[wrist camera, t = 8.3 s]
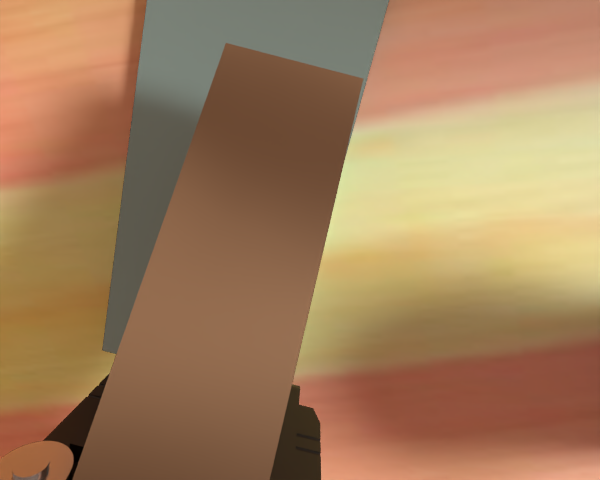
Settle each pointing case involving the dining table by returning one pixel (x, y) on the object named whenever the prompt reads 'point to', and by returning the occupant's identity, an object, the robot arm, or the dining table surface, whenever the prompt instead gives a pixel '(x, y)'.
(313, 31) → the mat
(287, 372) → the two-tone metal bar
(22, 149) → the dining table surface
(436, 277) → the dining table surface
